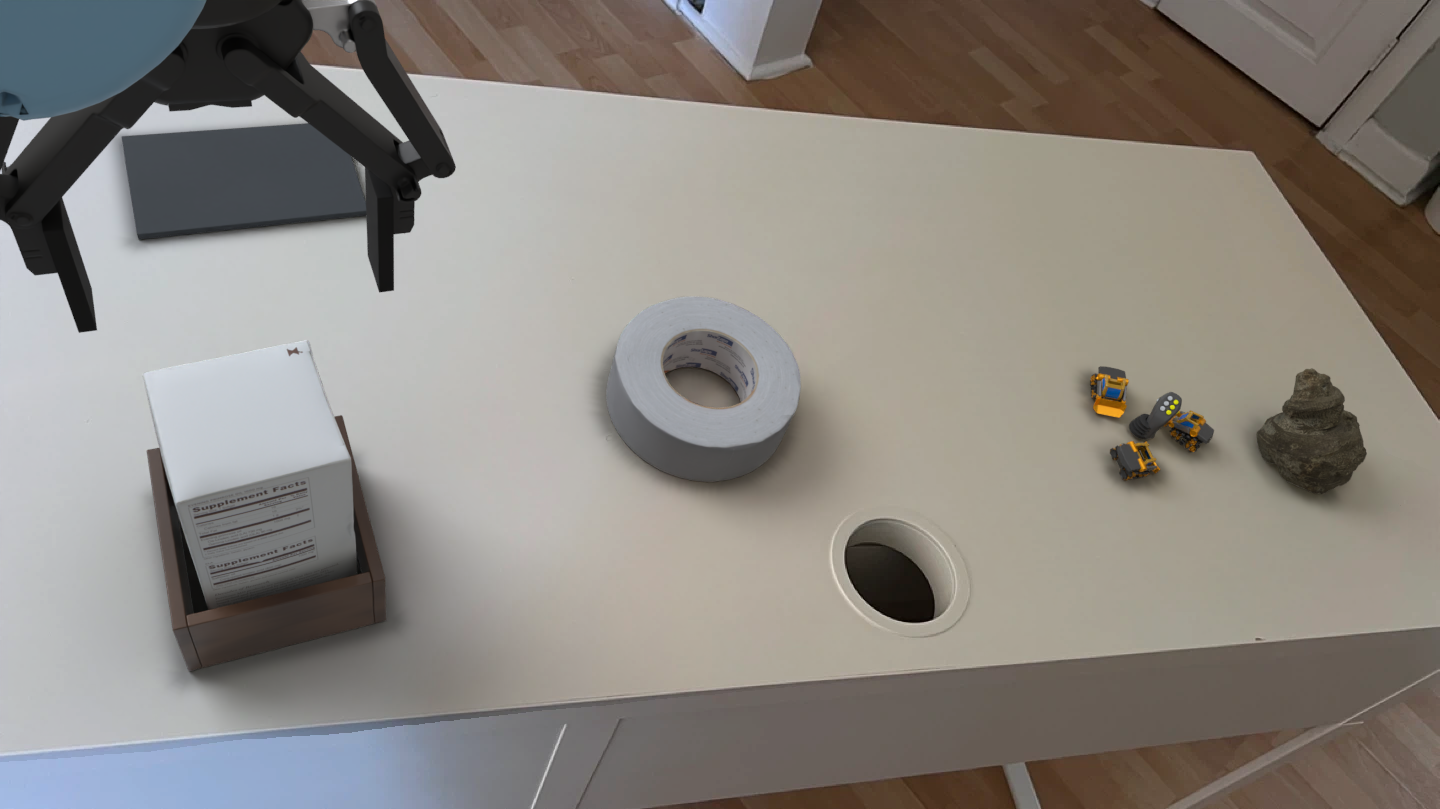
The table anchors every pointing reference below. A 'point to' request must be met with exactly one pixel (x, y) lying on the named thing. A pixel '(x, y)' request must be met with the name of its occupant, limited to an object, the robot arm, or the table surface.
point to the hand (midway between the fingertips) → (240, 291)
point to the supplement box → (256, 471)
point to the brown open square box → (273, 615)
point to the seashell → (1313, 436)
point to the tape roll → (684, 429)
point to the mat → (238, 179)
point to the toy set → (1145, 423)
